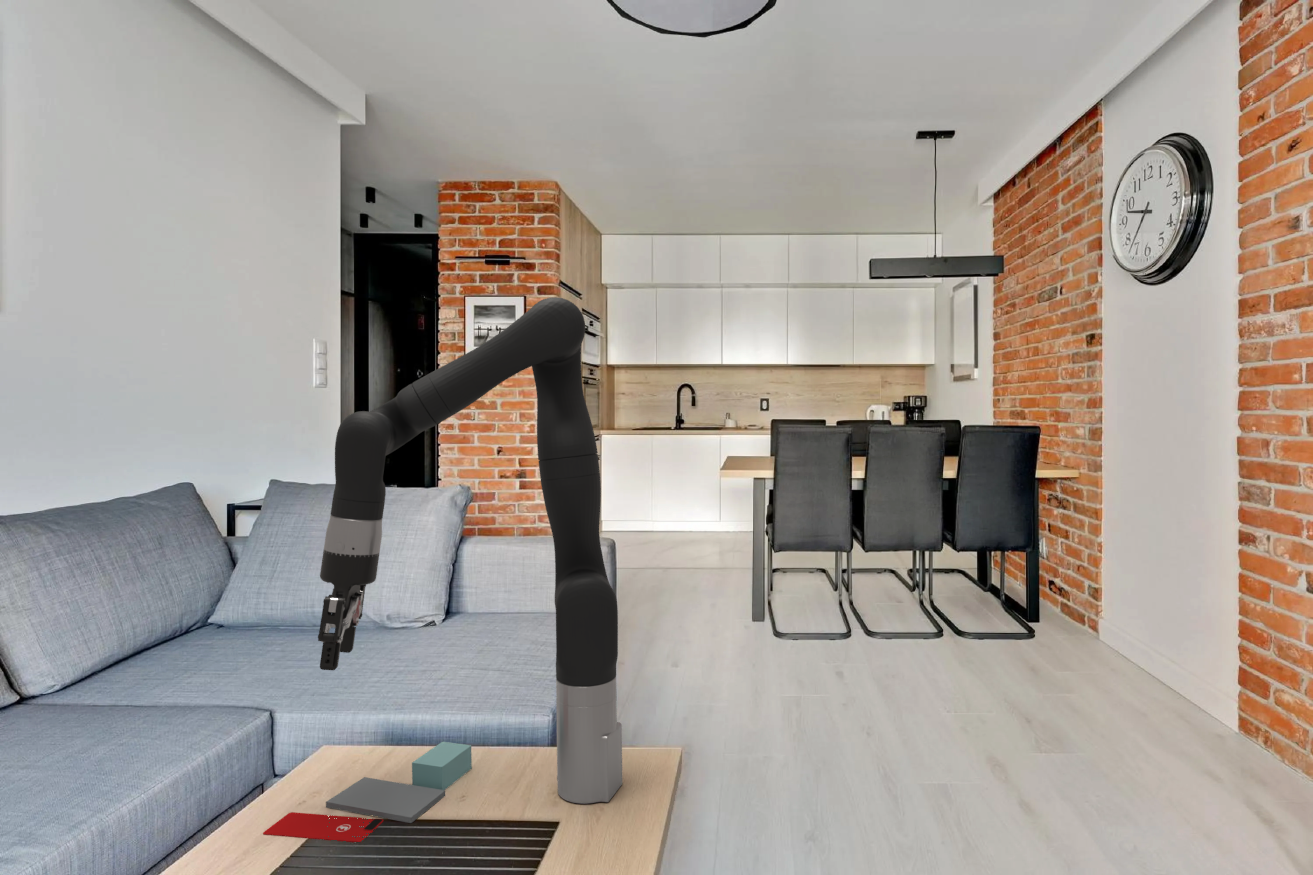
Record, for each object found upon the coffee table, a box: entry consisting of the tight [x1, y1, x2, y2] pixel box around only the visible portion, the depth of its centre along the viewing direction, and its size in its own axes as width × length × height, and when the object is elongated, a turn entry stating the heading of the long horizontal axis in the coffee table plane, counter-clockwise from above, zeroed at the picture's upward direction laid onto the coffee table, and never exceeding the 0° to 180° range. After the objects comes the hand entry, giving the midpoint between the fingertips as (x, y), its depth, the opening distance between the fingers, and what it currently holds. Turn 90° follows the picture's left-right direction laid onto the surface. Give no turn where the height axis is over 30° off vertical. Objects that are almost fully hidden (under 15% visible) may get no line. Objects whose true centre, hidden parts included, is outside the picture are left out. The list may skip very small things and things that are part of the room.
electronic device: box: [262, 811, 384, 843], centre depth 98 cm, size 6×1×15 cm
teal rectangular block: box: [411, 741, 473, 791], centre depth 112 cm, size 6×8×4 cm
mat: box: [325, 776, 446, 824], centre depth 104 cm, size 15×8×1 cm, turn 72°
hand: (336, 659), depth 101 cm, fingers open, 8 cm apart
